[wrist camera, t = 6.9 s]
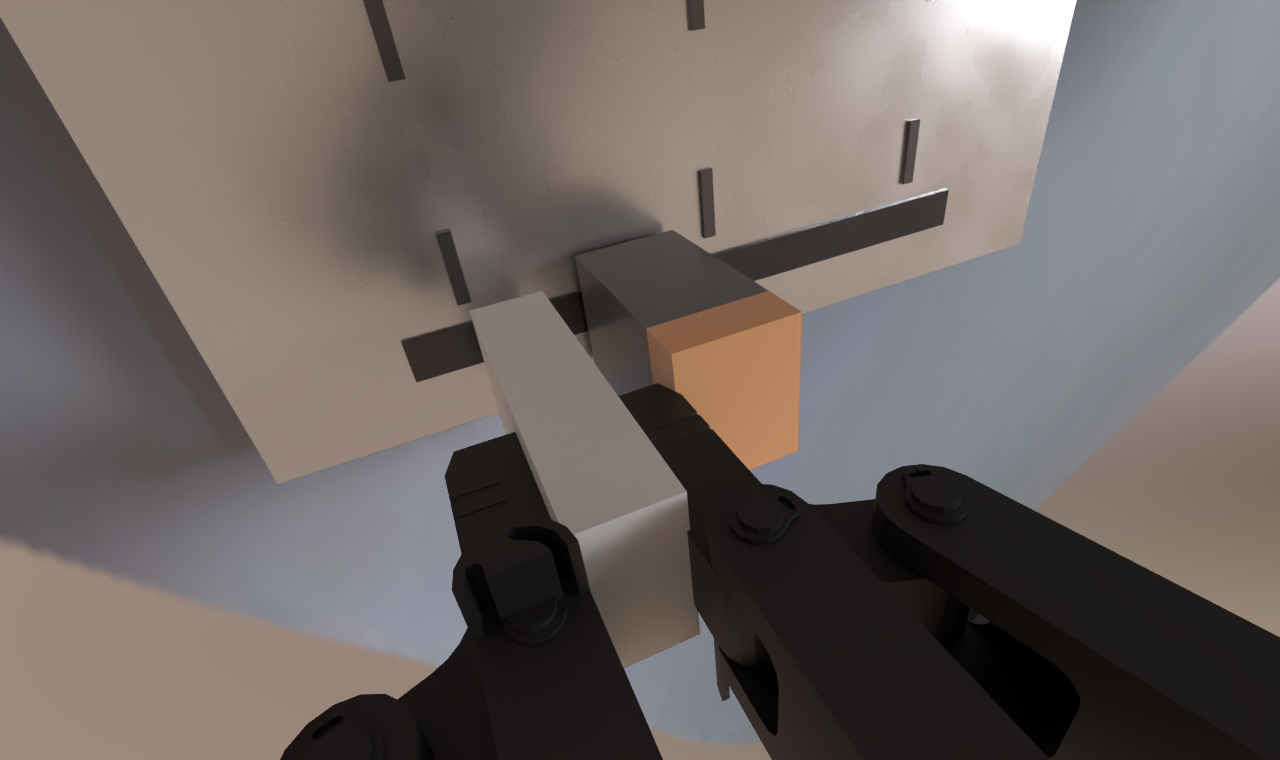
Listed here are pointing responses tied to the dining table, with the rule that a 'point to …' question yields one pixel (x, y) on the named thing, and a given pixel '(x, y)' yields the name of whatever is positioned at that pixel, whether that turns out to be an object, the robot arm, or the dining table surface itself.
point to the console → (522, 168)
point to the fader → (697, 339)
